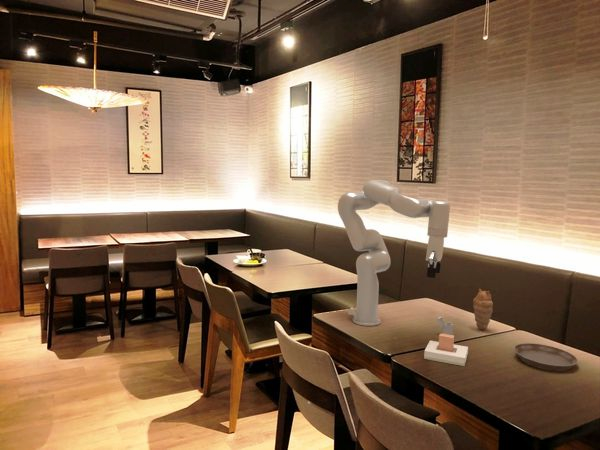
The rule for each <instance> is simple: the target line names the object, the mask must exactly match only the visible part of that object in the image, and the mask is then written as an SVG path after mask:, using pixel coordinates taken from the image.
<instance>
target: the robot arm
mask: <svg viewBox="0 0 600 450" xmlns="http://www.w3.org/2000/svg"><path fill="white" fill-rule="evenodd" d="M379 204H383V205H385V206H387V207H389V208H391V210H393V211H394V212H395V213H397V214H400V215H403V216H405V217H407V218H408V217H409V218H413V219H419V218H428V225H427V234H426V235H427V236H428V240H427V241H428V242H427V248H426V256H425V261H426V262H428V264H427V268H426V269H427V271H426V278H431V279H435V278H436V277H437V276H436V274H440V272H441V260H442V259H443V253H444V245H445V239H446V238H448V231H449V222H450V214H451V211H450V210H451V204H450V203H449V201H445V200H435V199H431V198H414V197H413V198H412V197H410V196H406V195H403V194H402V192H401V189H400V188H398V187H396V186H393V185H392V184H391V183H390V182H389V181H387V180H384V179H371V180H370V179H369V180H368V181H365V182H364V184H363V186H362V190H361V191H347V192H345V193H343V194H342V195H341V196H340V197H339V199H338V202H337V212H338V215H339V218H340V219H341V221H342V224H343V226H344V228H345V231H346V233H347V236H348V239H349V242H350V244H351V246H352V248H353V250H354V251H356V252H363V253H361V254H360V255H359V256H358V257H357V259H356V261H355V268H356V276H357V282H356V283H357V286H356V287H357V289H356V309H355V310H351V309H348V310H347V315H348V316H353V317H352V322H353V323H355V325H356V324H357V325H360V326H365V327H373V326H379V325H380V324H381V323H382V321H381V318H380V317H378V311H379V291H380V289H379V287H380V286H379V285H380V284H379V283H380V282H379V279H378V275H377V273H382V272H386V271H387V270H388V269H389V268H390V266H391V256H390V254H389V251H388V248H387V246H386V244H385V241H384V239H383V236H382V235H381V233H380V232H379V231H378V230H375V229H373V228H372V229H371V228H370V229H367V228H366V225H365V224H364V221H363V219H362V217H361V216H360V215H359V214H358V212H357V211H363V210H369V209H372V208H373V207H376V206H377V205H379ZM365 251H368V252H365Z"/></svg>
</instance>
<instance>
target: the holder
mask: <svg viewBox="0 0 600 450" xmlns="http://www.w3.org/2000/svg"><path fill="white" fill-rule="evenodd" d="M438 345H439V341H435V340H429V342H428V344H427V346H426V347H425V349H424V351H423V352H424V354H423V355H424V356H423V359H424V360H429V361H434V362H440V363H445V364H451V365H456V366H461V367H465V366H466V361H467V358H468V356H469V355H468V354H469V346H466V345H459V344H454V347H453V352H448V351H442V350H438Z"/></svg>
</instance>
